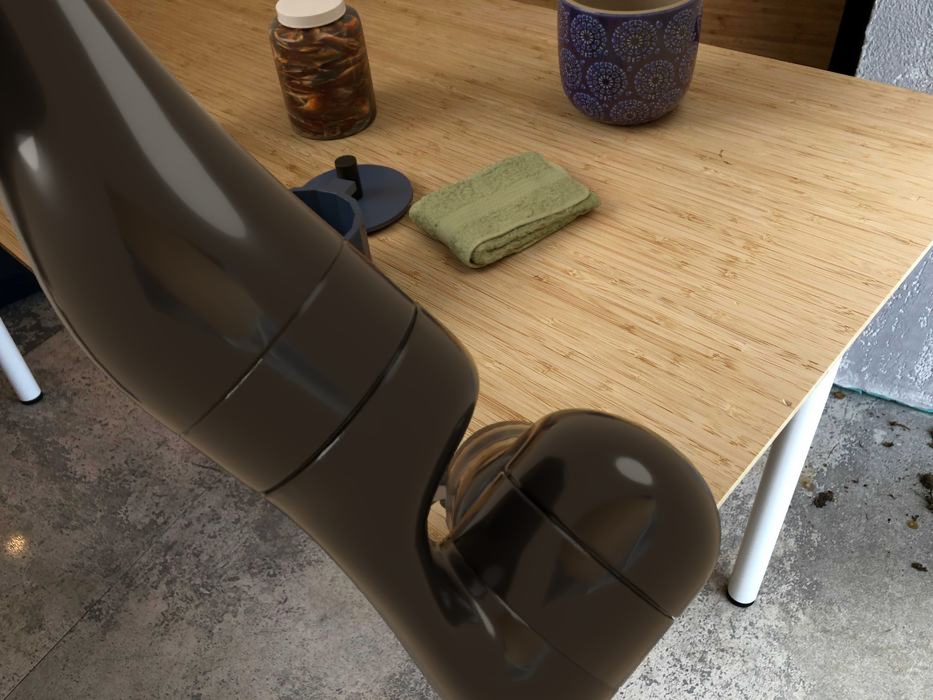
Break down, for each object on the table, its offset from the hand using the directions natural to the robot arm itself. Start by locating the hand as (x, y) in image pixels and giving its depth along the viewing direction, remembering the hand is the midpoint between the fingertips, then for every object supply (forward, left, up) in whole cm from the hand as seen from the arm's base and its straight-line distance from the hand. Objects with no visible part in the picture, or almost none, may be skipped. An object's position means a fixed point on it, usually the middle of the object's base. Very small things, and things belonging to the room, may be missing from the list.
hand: (499, 464), depth 60 cm
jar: (-45, +49, -5) cm, 66 cm away
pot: (-28, +17, -5) cm, 33 cm away
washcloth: (-15, +35, -5) cm, 38 cm away
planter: (-10, +62, -5) cm, 63 cm away
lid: (-32, +32, -5) cm, 45 cm away
